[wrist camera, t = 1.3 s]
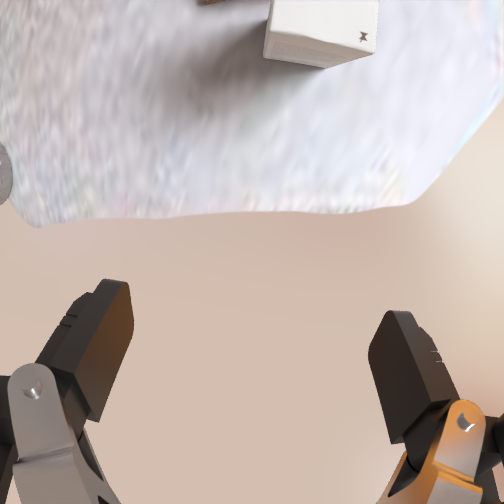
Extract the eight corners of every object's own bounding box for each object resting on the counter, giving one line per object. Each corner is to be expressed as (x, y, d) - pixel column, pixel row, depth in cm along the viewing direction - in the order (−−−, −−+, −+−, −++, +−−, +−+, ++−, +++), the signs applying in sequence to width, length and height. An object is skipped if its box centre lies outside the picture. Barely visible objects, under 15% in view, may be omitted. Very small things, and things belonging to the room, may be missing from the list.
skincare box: (332, 28, 22) (383, -6, 11) (327, 69, 24) (377, 57, 13) (265, 16, 21) (275, -31, 11) (260, 58, 23) (266, 34, 13)
